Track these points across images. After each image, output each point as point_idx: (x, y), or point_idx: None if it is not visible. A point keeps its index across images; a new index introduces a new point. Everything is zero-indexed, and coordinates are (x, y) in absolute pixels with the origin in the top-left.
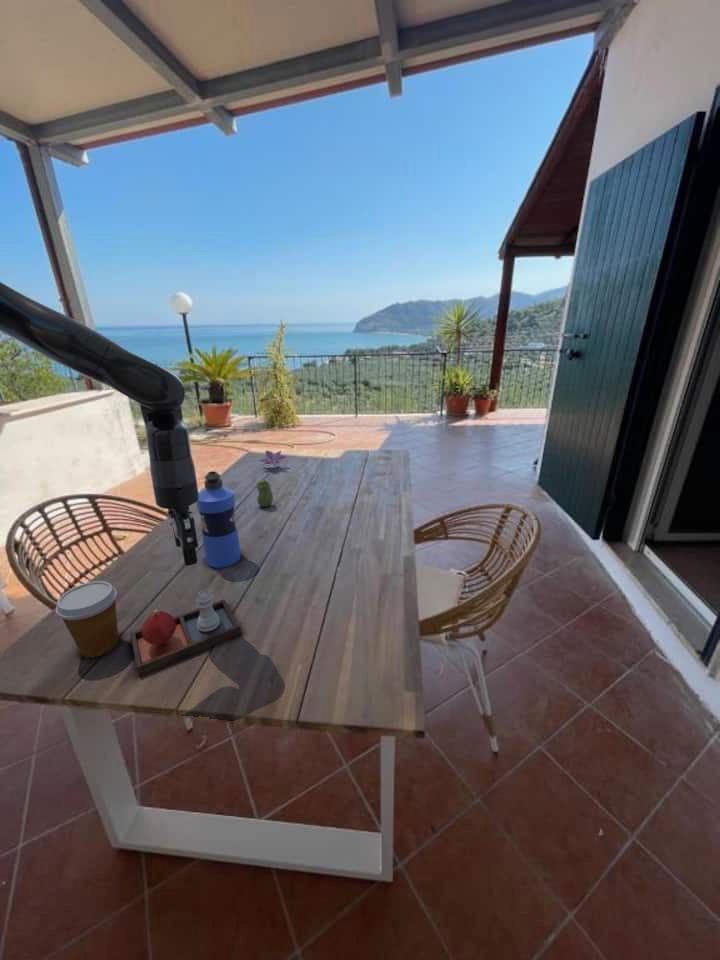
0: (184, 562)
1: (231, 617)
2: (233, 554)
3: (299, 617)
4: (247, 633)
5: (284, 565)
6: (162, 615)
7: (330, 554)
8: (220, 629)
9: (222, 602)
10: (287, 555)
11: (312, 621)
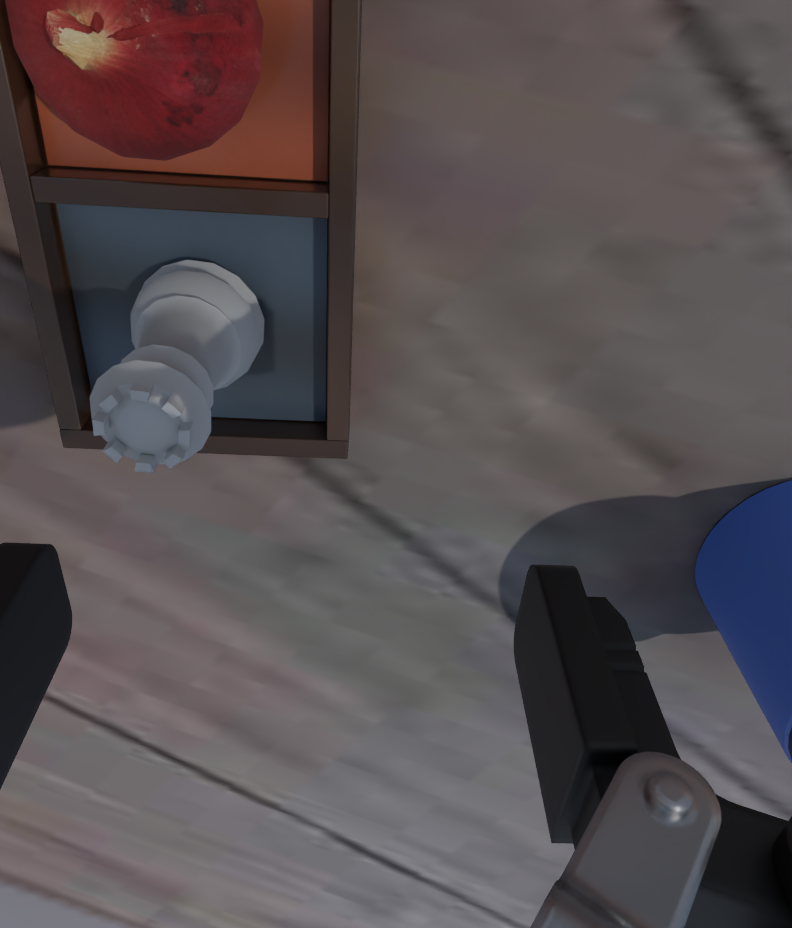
0: (34, 554)
1: None
2: (718, 623)
3: (83, 634)
4: None
5: (489, 720)
6: (80, 87)
7: (430, 849)
8: None
9: (320, 441)
10: None
11: None
